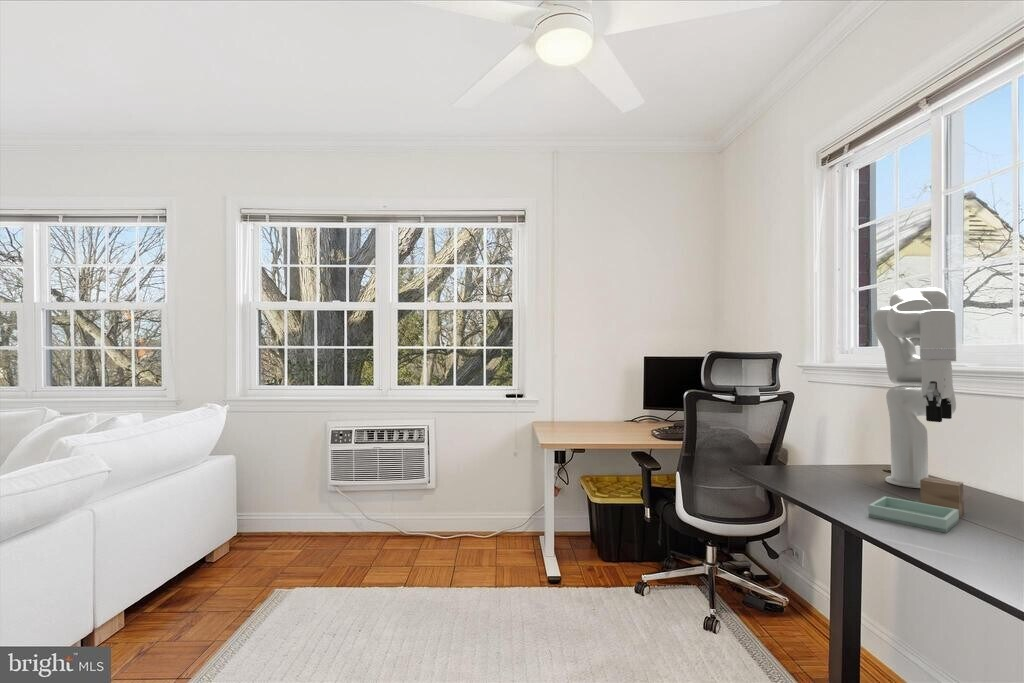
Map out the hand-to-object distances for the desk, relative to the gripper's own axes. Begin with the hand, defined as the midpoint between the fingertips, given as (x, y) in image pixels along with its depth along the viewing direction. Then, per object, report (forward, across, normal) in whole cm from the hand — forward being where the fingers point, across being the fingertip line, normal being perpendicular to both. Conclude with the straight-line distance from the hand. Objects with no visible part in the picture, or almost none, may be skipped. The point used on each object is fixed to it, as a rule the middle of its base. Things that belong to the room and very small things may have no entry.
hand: (939, 419), depth 139 cm
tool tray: (+24, +14, -3) cm, 28 cm away
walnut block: (+24, 0, 0) cm, 24 cm away
